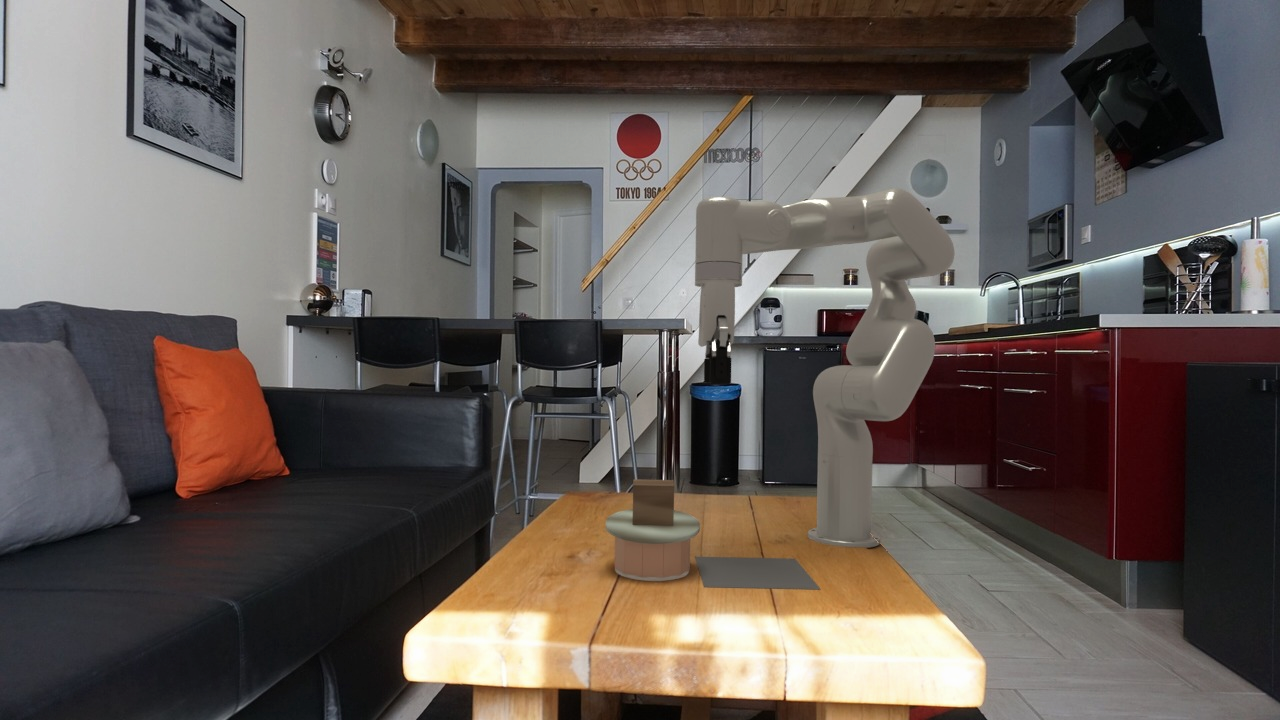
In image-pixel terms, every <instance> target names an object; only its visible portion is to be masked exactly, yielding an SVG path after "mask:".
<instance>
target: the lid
mask: <svg viewBox="0 0 1280 720" xmlns="http://www.w3.org/2000/svg"><path fill="white" fill-rule="evenodd" d="M632 482H633V486H632V508H630V509H624V510H620V511H617V512H613V514H610V515H609V516H608V517H606V520H605V530H606V532H608V533H609V534H610V535H611V536H613V537H617V538H620V539H623V540H627V541H632V542H638V543H650V544H663V543H674V542H680V541H684V540H688V539H690V540H691V539H693V538H695V537H696V536H697V535H698V534H699V533H700V532H701V531H700V529H701V527H700V526H701V523H700V521H699V520H698V519H697V518H696V517H695V516H693V515H692V514H689V513H687V512H683V511H679V510H675V482H674V479H638V478H637V479H635V478H634V479H633V481H632Z"/></svg>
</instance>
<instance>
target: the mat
mask: <svg viewBox="0 0 1280 720" xmlns="http://www.w3.org/2000/svg"><path fill="white" fill-rule="evenodd" d="M694 557H695V558H694V559H695V562H696V565H697V569H698V572H699V576H700V577H701V582H702V585H703V588H709V589H710V588H714V589H715V588H717V589H762V590H763V589H764V590H765V589H766V590H767V589H768V590H809V591H810V590H813V591H815V590H818V591H821V589H822V588H821V587H820V586H819V585H818V584H817V583H816V582H815V580H814V579H813V577H812V576H811V575H810V574H809V573H808V571H806V569H805V568H804V567H803V566H802V565H801V563H800V562H799V561H798V560H797V558H787V557H786V558H783V557H782V558H781V557H778V558H777V557H740V556H739V557H737V556H735V557H733V556H694Z"/></svg>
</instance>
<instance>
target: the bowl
mask: <svg viewBox="0 0 1280 720" xmlns="http://www.w3.org/2000/svg"><path fill="white" fill-rule="evenodd" d="M614 537H615V536H614ZM614 541H615V542H614V571H615V573H616V574H617V575H619V576H621V577H624V578H627V579H631V580H637V581H646V582H663V581H672V580H677V579H682V578H684V577H686V576H687V575H689V573H690V569H691V538H690V539H688V540H684V541H680V542H674V543H663V544H650V543H638V542H632V541H627V540H623V539H620V538H617V537H615V538H614Z"/></svg>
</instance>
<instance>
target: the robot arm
mask: <svg viewBox="0 0 1280 720" xmlns="http://www.w3.org/2000/svg"><path fill="white" fill-rule="evenodd" d="M695 211H696V212H695V262H694V264H695V265H694V286H696V287H699V288H700V295H699V297H700V298H699V314H698V315H699V317H698V318H699V319H698V343H697V345H698V346H699V347H700V348H703V347H705V355H704V357H705V358H704V359H703V360H704V362H703V363H704V366H703V369H704V370H703V382H704V383H709V384H713V385H715V384H716V385H730V384H732V356H731V354H732V353H731V351H732V350H731V345H733V344H734V339H735V324H736V323H735V321H736V320H735V319H736V317H735V315H736V288H738V287H741V286H743V255H749V254H761V253H770V252H776V251H788V250H789V251H791V250H807V249H808V250H809V249H814V248H824V247H833V246H840V245H841V246H842V245H854V244H861V243H862V244H863V243H870V242H874V241H876V242H874V243H873V244H872V245H871V246H870V247H869V249H868V251H867V253H866V258H865V259H866V260H865V263H866V265H865V266H866V269H867V273H868V277H869V281H870V285H871V293H872V297H871V300H870V301H869V304H868V306H867V308H866V309H865V311H864V313H863V315H862V317H861V319H860V320H859V321H858V323H857V325H856V327H855V328H854V330H853V332H852V334H851V336H850V337H849V339H848V341H847V345H846V350H845V355H846V359H847V360H848V362H849V365H848V364H847V365H844V364H842V365H835V366H831V367H828V368H826V369H824V370H823V371H821V372H820V373H819V374H818V375H817V377H816V378H815V381H814V384H813V387H812V388H813V389H812V396H813V403H814V409H815V414H816V422H817V436H818V437H817V438H818V439H817V441H818V442H817V484H816V487H817V489H816V493H817V495H816V496H817V497H816V527H814V528H811V529H809V530H808V531H807V538H808V539H809V540H811V541H813V542H817V543H819V544H823V545H827V546H828V545H829V546H835V547H845V548H866V549H868V548H875V547H877V546H879V545H881V536H880V535H879V534H878V533H875V532H873V531H872V519H873V518H872V517H873V515H872V513H873V511H872V508H873V507H872V505H873V503H872V502H873V455H874V454H873V453H874V448H873V447H874V446H873V445H874V444H873V440H872V435H871V432H870V430H869V427H868V425H867V423H866V421H873V422H874V421H875V422H890V421H894V420H896V419H898V418H900V417H902V415H903V414H904V413H905V412H906V411H907V409H908V408H909V406H910V405H911V403H912V401H913V399H914V398H915V395H916V394H917V392H918V390H919V389H920V387H921V385H922V383H923V381H924V379H925V377H926V375H927V374H928V371H929V369H930V367H931V366H932V363H933V360H934V358H935V353H936V352H935V351H936V341H935V340H936V339H935V337H934V336H935V335H934V332H933V330H932V328H931V327H930V326H929V325H928V324H927V323H925V322H924V321H923V320H920V319H917V318H915V317H916V313H917V304H916V301H915V299H914V297H913V295H912V293H911V291H910V290H909V287H908V285H907V282H906V280H912V279H919V278H928V277H935V276H939V275H941V274H943V273H945V272H946V271H948V270H949V269H950V267H951V266H952V265H953V262H954V260H955V247H954V243H953V241H952V238H951V237H950V234H949V233H948V232H947V231H946V229H945V228H944V227H943V225H941V224H940V222H939V221H938V220H937V218H935V216H934V215H933V214H932V213H931V212H930V211H929V210H928V209H927V208H926V206H925V205H924V204H923V203H922V202H921V201H919V199H917V197H916V196H915V195H913V194H911V192H909V191H907V190H906V189H904V188H899V187H893V188H888V189H886V190H881V191H877V192H873V193H869V194H865V195H856V196H841V197H839V196H838V197H817V198H812V199H806V200H802V201H797V202H795V203H791V204H787V205H784V206H782V205H781V204H779V203H777V202H773V201H766V200H764V201H763V200H762V201H749V200H748V201H746V200H744V201H742V200H738V199H736V198H733V197H728V196H712V197H708V198H704V199H702V200H701V201H699V202H698V203H697V206H696V209H695ZM870 533H871V534H872V535H873V537H872V535H871V534H870ZM874 538H875V539H876V540H877V541H878V542H879V543H877V541H876V540H875V539H874Z"/></svg>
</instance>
